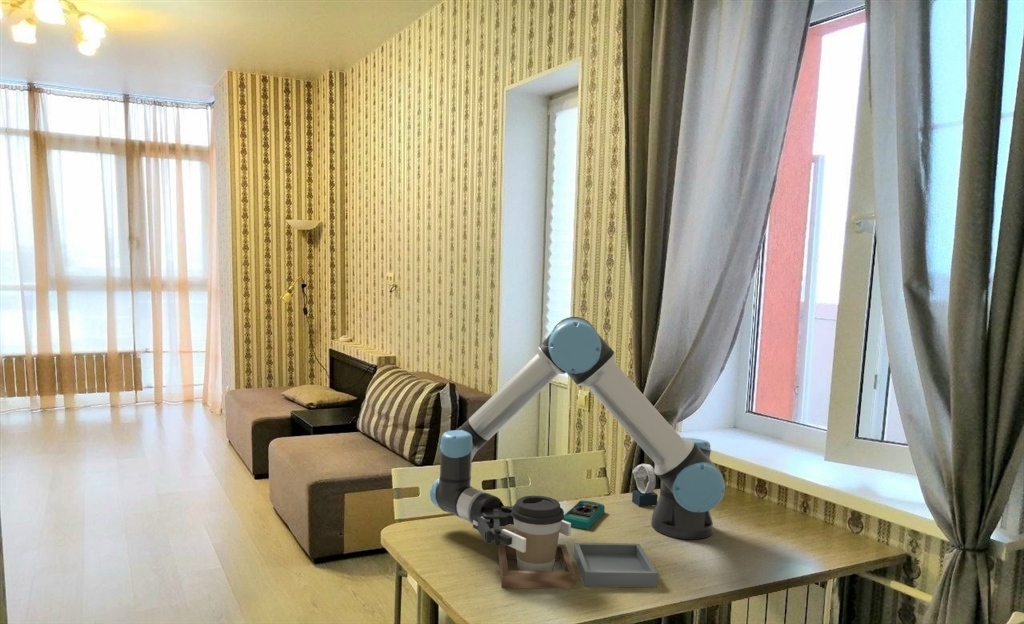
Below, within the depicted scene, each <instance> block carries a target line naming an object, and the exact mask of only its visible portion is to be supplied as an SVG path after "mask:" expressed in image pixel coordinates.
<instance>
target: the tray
mask: <svg viewBox="0 0 1024 624" xmlns="http://www.w3.org/2000/svg"><path fill="white" fill-rule="evenodd" d="M572 554H573V555H572V556H573V559H574V561H575V564H576V567H577V569H578V570H577V571H578V573H579V575H580V578H581V581H582V584H583V587H586V588H587V587H588V588H589V587H590V588H591V587H595V588H597V587H598V588H599V587H601V588H603V587H605V588H606V587H607V588H611V587H612V588H657V587H658V571H657V570H656V569H655V567H654V565H653V563H652V561H651V560H650V559H649V557H648V555H647V554H646V552H645V550H644V549H643V547H642V545H641V544H640V543H635V542H634V543H628V542H627V543H626V542H624V543H623V542H622V543H621V542H619V543H618V542H616V543H615V542H614V543H613V542H573V553H572Z"/></svg>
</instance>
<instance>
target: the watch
mask: <svg viewBox="0 0 1024 624" xmlns="http://www.w3.org/2000/svg"><path fill="white" fill-rule="evenodd" d="M654 468H655V467H653V466H652V465H651V464H647V463H641V464H638V465H637V466H635V467H634V468H633V470H632V474H633V477H634V480H635V483H636V487H637V490H632V492H631V493H632V494H631V496H632V497H631V502H632V503H633V504H635V505H636V506H638V507H640V508H641V507H653V506H652V505H656V504H657V502H658V498H659V496H658V494H657V493H656V492H654V490H655V488H656V485H657V484H656V483H657V482H656V479H657V477H656V476H657V475H656V474H655V472H654ZM647 477H648V482H646V485H645V480H646V479H647Z"/></svg>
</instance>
